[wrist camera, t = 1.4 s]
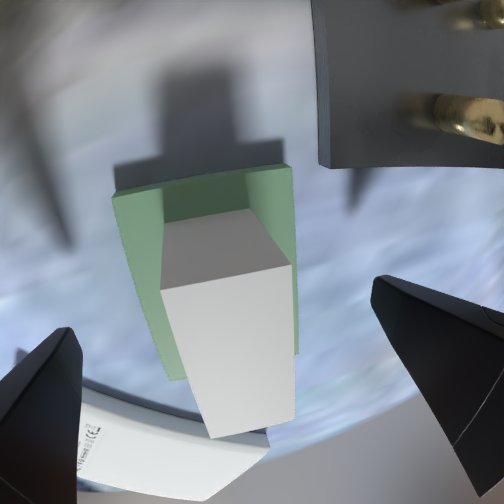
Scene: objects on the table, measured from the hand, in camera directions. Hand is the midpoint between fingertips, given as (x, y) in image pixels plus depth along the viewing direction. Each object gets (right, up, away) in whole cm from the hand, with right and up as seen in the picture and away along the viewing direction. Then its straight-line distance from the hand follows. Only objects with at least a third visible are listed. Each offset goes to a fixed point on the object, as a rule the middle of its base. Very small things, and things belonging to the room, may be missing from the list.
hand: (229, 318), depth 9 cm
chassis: (+9, +9, 0) cm, 13 cm away
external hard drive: (-6, -8, +6) cm, 12 cm away
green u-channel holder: (-1, +1, +2) cm, 2 cm away
